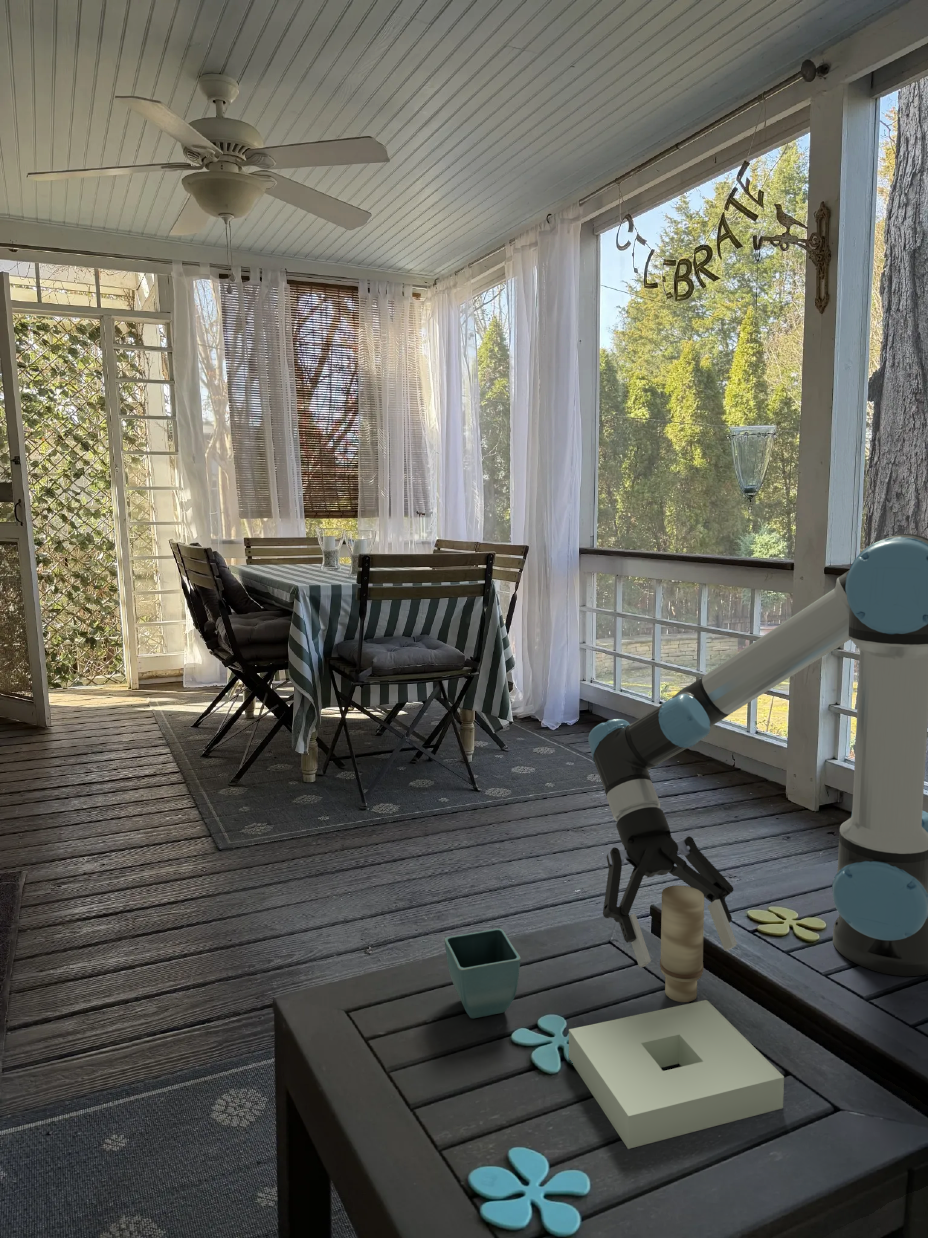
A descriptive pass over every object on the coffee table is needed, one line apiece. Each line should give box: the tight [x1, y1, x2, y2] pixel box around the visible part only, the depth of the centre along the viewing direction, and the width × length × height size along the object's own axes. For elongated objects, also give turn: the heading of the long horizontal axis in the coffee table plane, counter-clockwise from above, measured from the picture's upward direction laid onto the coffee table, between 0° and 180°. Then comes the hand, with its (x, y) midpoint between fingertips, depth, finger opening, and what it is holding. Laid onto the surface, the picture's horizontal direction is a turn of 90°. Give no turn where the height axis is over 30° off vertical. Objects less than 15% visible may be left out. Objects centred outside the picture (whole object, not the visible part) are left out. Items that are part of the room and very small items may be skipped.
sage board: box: [568, 999, 785, 1150], centre depth 104 cm, size 20×16×4 cm
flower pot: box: [444, 928, 521, 1019], centre depth 120 cm, size 9×9×9 cm
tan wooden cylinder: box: [659, 884, 705, 1003], centre depth 121 cm, size 6×6×15 cm
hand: (688, 956), depth 120 cm, fingers open, 13 cm apart
